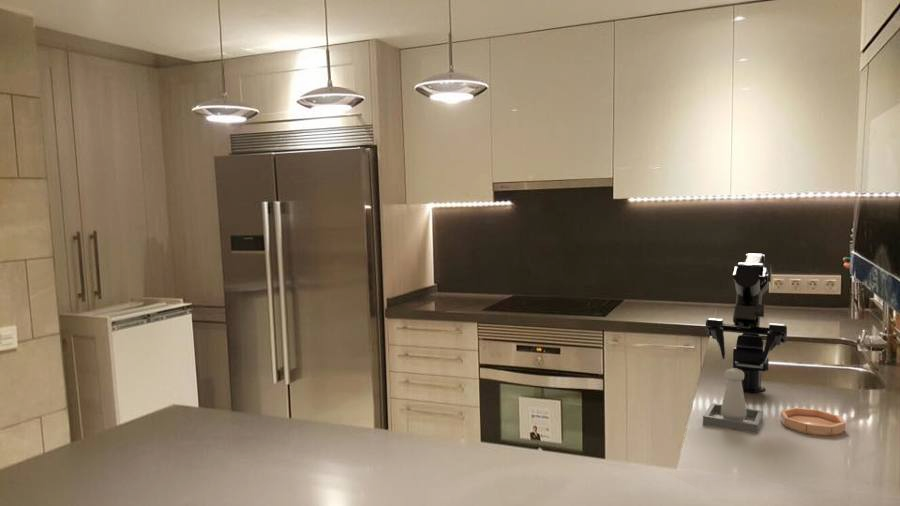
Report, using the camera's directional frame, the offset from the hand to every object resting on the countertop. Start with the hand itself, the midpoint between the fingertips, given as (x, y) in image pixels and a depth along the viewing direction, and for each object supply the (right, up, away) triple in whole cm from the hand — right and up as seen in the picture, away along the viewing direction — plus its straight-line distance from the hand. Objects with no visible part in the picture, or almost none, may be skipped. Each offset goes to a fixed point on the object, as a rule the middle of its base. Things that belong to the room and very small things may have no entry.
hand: (743, 360), depth 158 cm
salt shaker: (-4, -14, -3) cm, 15 cm away
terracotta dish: (+14, -14, -7) cm, 21 cm away
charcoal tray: (-4, -14, -3) cm, 15 cm away
